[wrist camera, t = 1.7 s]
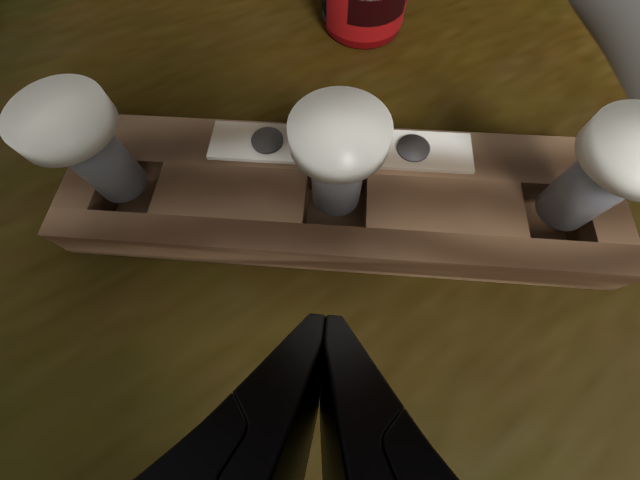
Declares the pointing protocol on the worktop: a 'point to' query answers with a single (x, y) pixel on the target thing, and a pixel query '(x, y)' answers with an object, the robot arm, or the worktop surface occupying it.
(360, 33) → the canned food
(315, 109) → the middle button
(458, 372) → the worktop surface
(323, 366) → the robot arm
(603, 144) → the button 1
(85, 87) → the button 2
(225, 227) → the console
